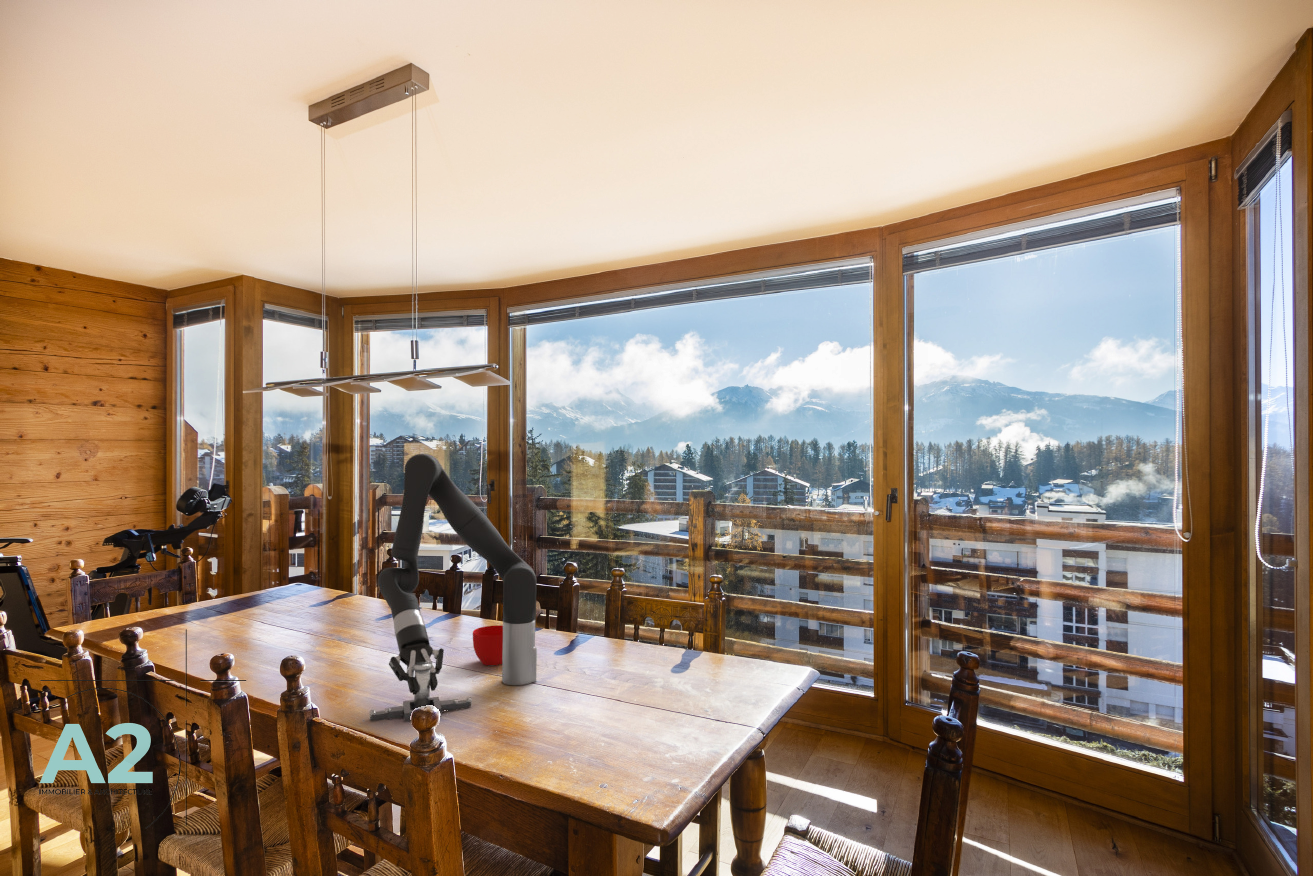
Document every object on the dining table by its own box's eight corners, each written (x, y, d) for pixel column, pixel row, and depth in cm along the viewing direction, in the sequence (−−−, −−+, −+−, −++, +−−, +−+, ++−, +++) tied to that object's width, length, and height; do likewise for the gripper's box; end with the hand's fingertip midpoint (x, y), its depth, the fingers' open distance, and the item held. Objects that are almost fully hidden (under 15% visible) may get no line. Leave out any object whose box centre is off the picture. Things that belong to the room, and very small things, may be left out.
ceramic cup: (498, 674, 191) (499, 640, 192) (463, 663, 202) (464, 631, 202) (531, 664, 202) (532, 631, 202) (496, 654, 212) (497, 623, 212)
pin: (430, 704, 165) (431, 660, 165) (432, 710, 161) (432, 666, 161) (411, 706, 163) (412, 662, 164) (412, 713, 159) (413, 668, 159)
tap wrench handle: (469, 700, 170) (469, 692, 171) (473, 712, 163) (473, 703, 163) (369, 713, 161) (370, 705, 161) (369, 726, 153) (369, 717, 153)
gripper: (385, 627, 164) (398, 689, 154) (441, 619, 173) (457, 677, 163) (379, 643, 168) (391, 705, 158) (433, 635, 177) (449, 692, 167)
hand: (424, 690), depth 161 cm, fingers open, 4 cm apart
